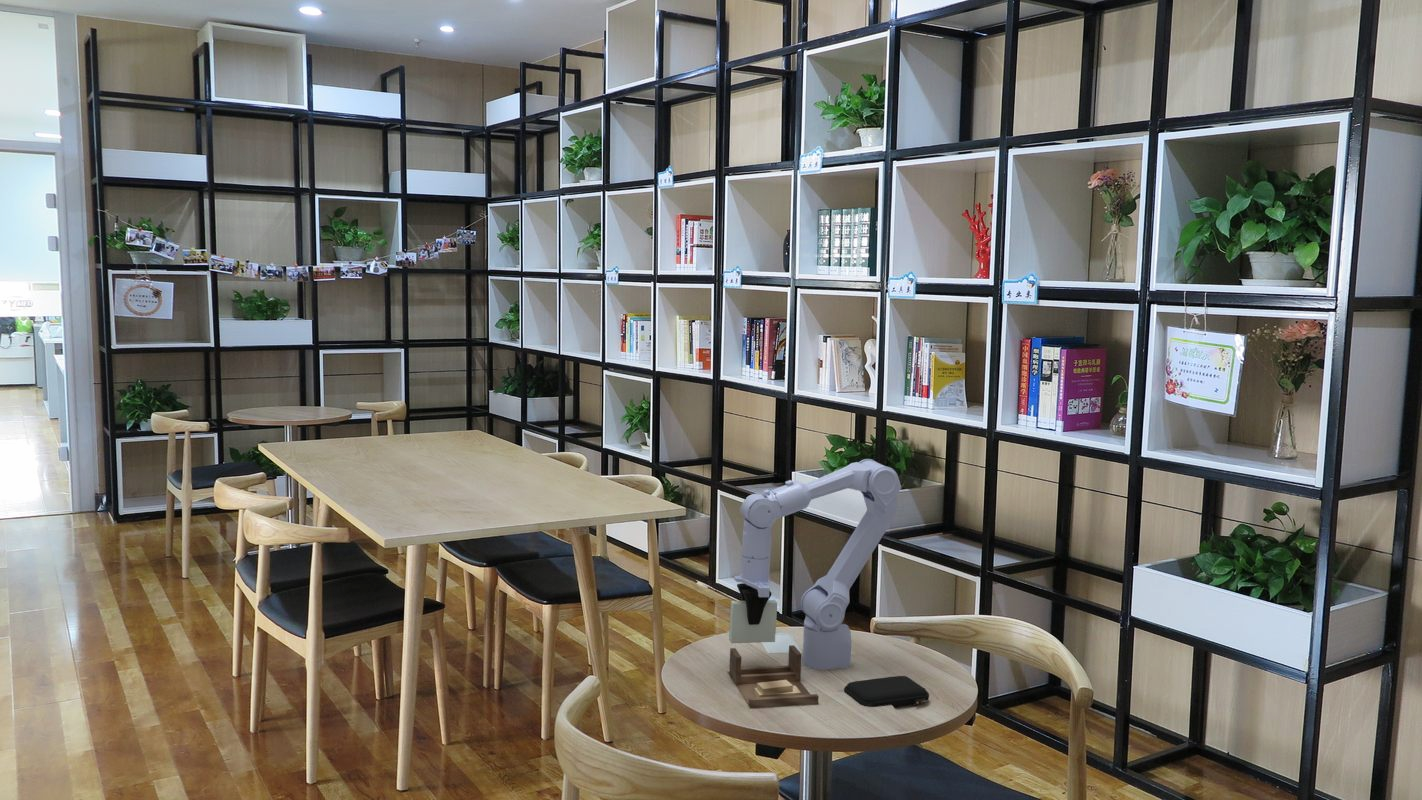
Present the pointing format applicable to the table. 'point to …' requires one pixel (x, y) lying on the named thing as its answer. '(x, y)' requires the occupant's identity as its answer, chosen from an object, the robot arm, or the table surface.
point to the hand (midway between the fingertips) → (752, 622)
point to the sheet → (752, 633)
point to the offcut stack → (776, 689)
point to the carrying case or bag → (887, 692)
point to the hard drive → (780, 643)
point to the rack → (753, 675)
